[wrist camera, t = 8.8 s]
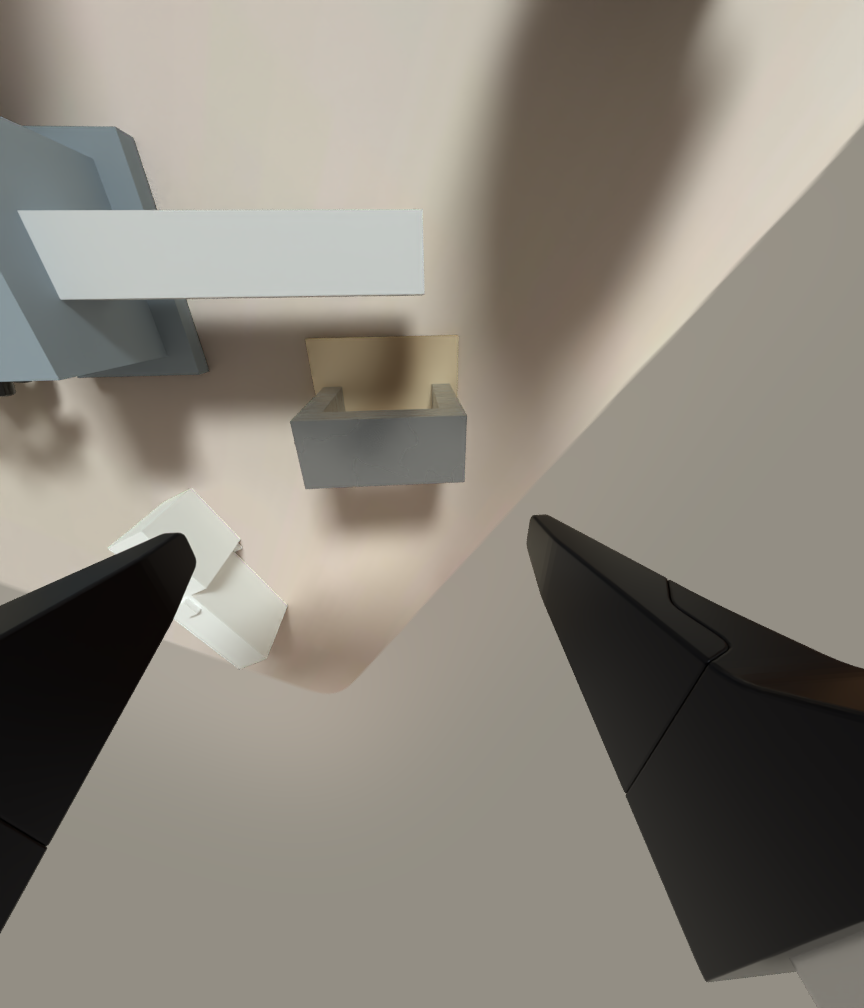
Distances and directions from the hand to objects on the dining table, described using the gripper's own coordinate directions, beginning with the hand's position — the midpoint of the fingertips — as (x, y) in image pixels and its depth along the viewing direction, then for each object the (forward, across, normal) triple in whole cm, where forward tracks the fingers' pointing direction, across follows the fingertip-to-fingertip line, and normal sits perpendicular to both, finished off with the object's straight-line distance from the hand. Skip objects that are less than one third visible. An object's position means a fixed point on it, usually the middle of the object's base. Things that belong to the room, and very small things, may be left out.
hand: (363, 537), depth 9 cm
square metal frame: (+13, 0, 0) cm, 13 cm away
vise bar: (+13, +6, -7) cm, 16 cm away
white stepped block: (+14, +12, +10) cm, 21 cm away
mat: (+13, 0, 0) cm, 13 cm away
